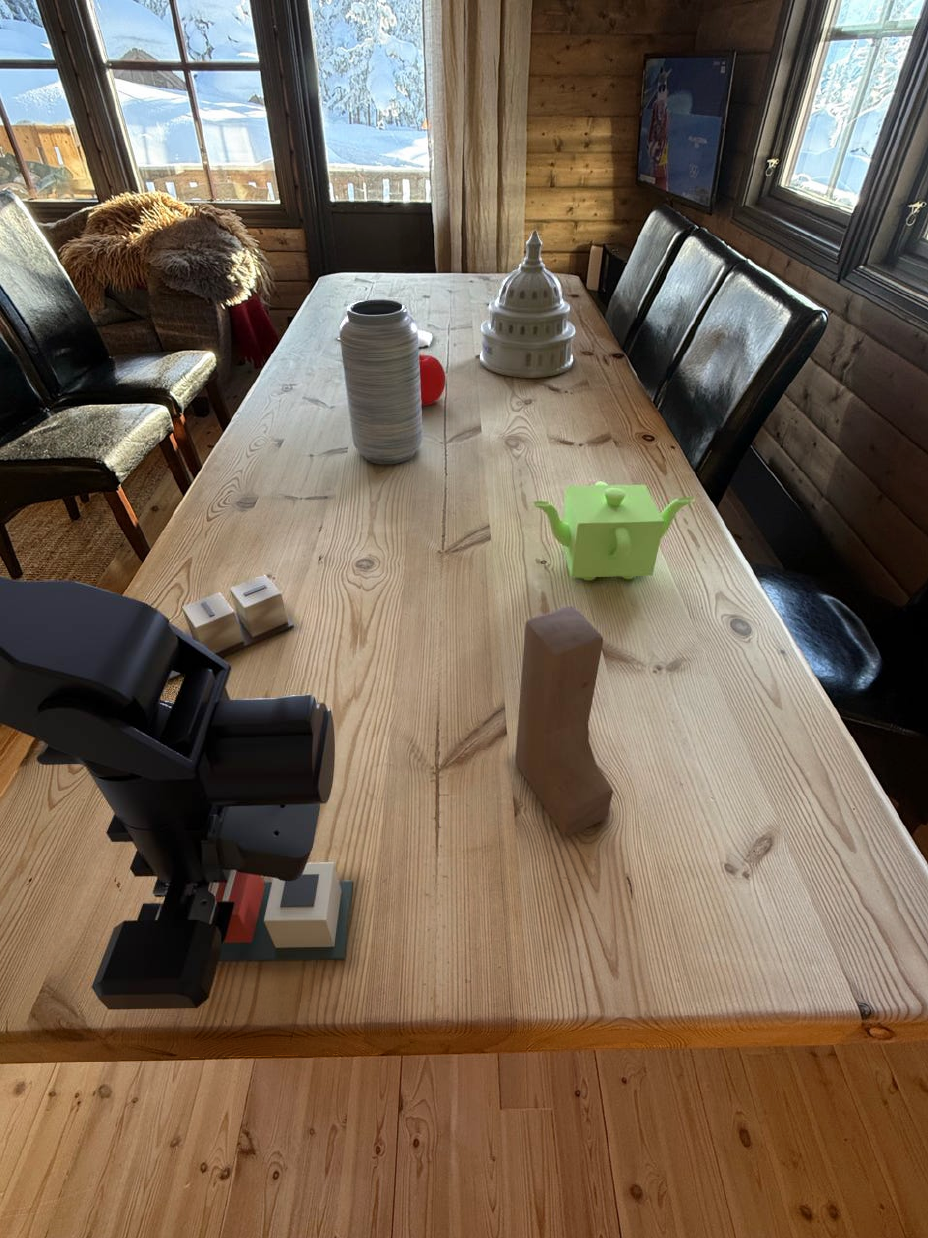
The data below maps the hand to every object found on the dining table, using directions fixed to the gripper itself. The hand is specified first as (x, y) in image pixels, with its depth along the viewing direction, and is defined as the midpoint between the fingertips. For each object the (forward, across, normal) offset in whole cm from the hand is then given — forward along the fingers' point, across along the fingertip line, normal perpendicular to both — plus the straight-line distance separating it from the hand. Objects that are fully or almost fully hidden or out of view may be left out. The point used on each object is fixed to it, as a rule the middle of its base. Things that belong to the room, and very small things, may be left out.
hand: (226, 909), depth 50 cm
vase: (+2, +79, -6) cm, 79 cm away
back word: (+2, +32, +10) cm, 34 cm away
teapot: (+2, +46, -37) cm, 59 cm away
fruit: (+2, +100, -11) cm, 100 cm away
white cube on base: (+2, 0, -3) cm, 4 cm away
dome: (+2, +121, -33) cm, 125 cm away
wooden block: (+2, +12, -27) cm, 29 cm away
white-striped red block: (+1, 0, 0) cm, 1 cm away
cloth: (+2, +137, -1) cm, 137 cm away
